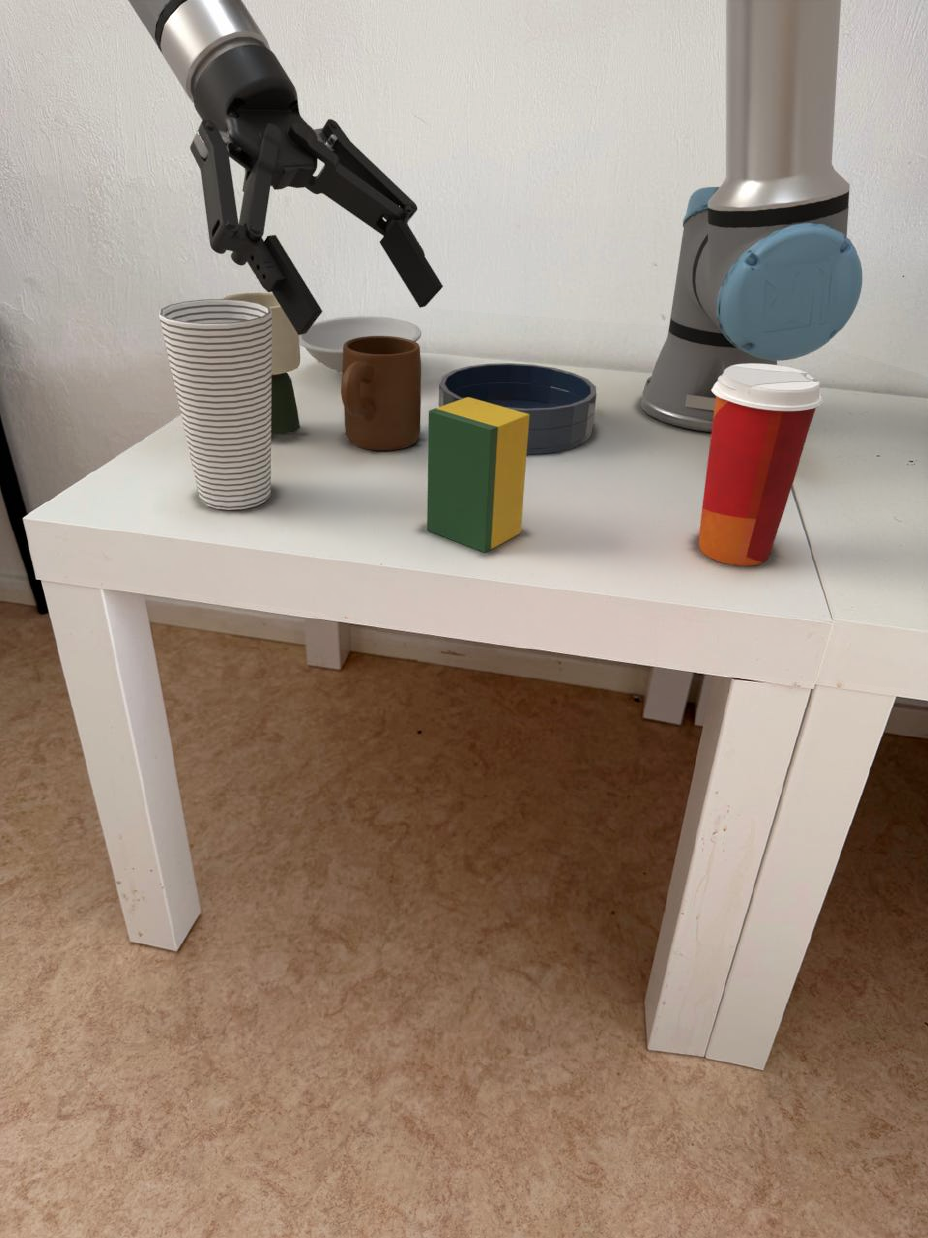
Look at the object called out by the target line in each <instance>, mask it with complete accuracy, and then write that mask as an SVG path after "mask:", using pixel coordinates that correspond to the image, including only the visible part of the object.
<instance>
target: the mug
mask: <svg viewBox="0 0 928 1238" xmlns="http://www.w3.org/2000/svg"><path fill="white" fill-rule="evenodd" d="M342 369H343V372H342V377H341V378H342V379H341V385H340V394H341V401H342V405H343V412H344V413H343V414H344V415H343V416H344V431H345V436H346V438H347V440H348V441H349V442H350V443H351V444H352V445H354V446H356V447H358V448H361V449H364V450H365V449H366V450H370V451H384V452H385V451H397V450H402V449H405V448H408V447H410V446H412V445H414V444H415V443H416V442H417V441H418V440H419V438H420V434H421V410H422V408H421V407H422V359H421V347H420V344H419V343H418V342H417V341H416V342H415V341H412V340H409V339H406V338H401V337H393V336H366V337H359V338H354V339H351V340H349V341H347V342H345V343H344V346H343V362H342Z"/></svg>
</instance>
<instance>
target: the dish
mask: <svg viewBox="0 0 928 1238" xmlns="http://www.w3.org/2000/svg"><path fill="white" fill-rule="evenodd" d="M366 336H393V337H401V338H406V339H409V340H412V341H415V342H416V343H417V341H419V340H420V339H421V337H422V330H421V329H420V327H419V326H418V325H416V324H414V323H412V322H410V321H407V320H403V319H399V318H393V317H386V316H373V315H371V316H370V315H369V316H367V315H365V316H364V315H363V316H361V315H360V316H359V315H358V316H344V317H343V316H342V317H336V318H330V319H325V320H321V321H320V320H319V321H317V322H316V321H315V322H314V324H313V325H312V326H311V327H310V329H309V330H308V331H307V333H306V334H301V335H299V345H300V346H301V347H304V348H305V350H306V351H307V352H308V354H310V355H311V356H312V357H313V358H314V359H315V360H316V361H317V362H318V363H320V364H321V365H323V366H325V367H327V368H328V369H331V370H332V371H333V370H334V371H337V372H341V373H343V369H342V362H343V346H344V343H345V342H347V341H349V340H351V339H354V338H359V337H366Z"/></svg>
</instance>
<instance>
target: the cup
mask: <svg viewBox="0 0 928 1238" xmlns="http://www.w3.org/2000/svg"><path fill="white" fill-rule="evenodd" d="M158 313H159V314H158V316H159V321H160V326H161V331H162V335H163V339H164V344H165V349H166V353H167V358H168V362H169V367H170V371H171V375H172V380H173V385H174V389H175V393H176V398H177V402H178V407H179V411H180V417H181V420H182V421H181V422H182V425H183V430H184V434H185V438H186V439H185V440H186V443H187V447H188V448H187V449H188V452H189V457H190V461H191V465H192V470H193V474H194V475H193V476H194V480H195V484H196V488H197V493H198V496H199V497H198V498H199V500H200V501H201V502H202V503H203V504H204V505H205V506H207V507H211V508H213V509H216V510H227V511H233V510H235V511H236V510H245V509H250V508H254V507H257V506H260V505H262V504H263V503H265V502H267V500H268V499H269V498H270V497H271V496H272V495H271V494H272V487H271V486H272V435H271V364H272V312H271V309H270V308H269V307H267V306H265V305H263V304H261V303H256V302H251V301H245V300H232V299H222V298H211V299H210V298H207V299H205V298H204V299H195V300H185V301H181V302H175V303H172V304H168V305H166V306H165V307H162V308H161V309H160V310H159V312H158Z"/></svg>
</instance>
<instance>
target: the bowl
mask: <svg viewBox="0 0 928 1238" xmlns="http://www.w3.org/2000/svg"><path fill="white" fill-rule="evenodd" d="M597 395H598V394H597V386H596V385H595V384H594V383H593V382H592V381H590V380H589V379H588V378H586V377H584V376H581V375H579V374H576V373H575V372H572V371H567V370H564V369H560V368H556V367H551V366H544V365H539V364H538V365H537V364H532V363H531V364H530V363H529V364H527V363H516V362H515V363H514V362H513V363H510V362H506V363H505V362H504V363H503V362H502V363H500V362H499V363H483V364H482V363H481V364H476V365H467V366H463V367H459V368H457V369H453V370H451V371H449V372H447V373H446V374H444V375H442V376H441V377H440V381H439V382H438V407H441V406H444V405H447V404H450V403H452V402H455V401H458V400H461V399H464V398H467V397H470V398H473V399H477V400H481V401H484V402H488V403H491V404H495V405H498V406H502V407H505V408H509V409H513V410H516V411H520V412H523V413H527V414H529V427H528V441H527V454H526V455H542V454H543V455H544V454H552V453H553V454H554V453H560V452H563V451H569V450H571V449H574V448H577V447H579V446H581V445H583V444H585V443H586V442H587V441H588V440H589V439H590V437H591V436H592V432H593V429H594V420H595V410H596V402H597ZM438 407H437V408H438Z"/></svg>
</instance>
